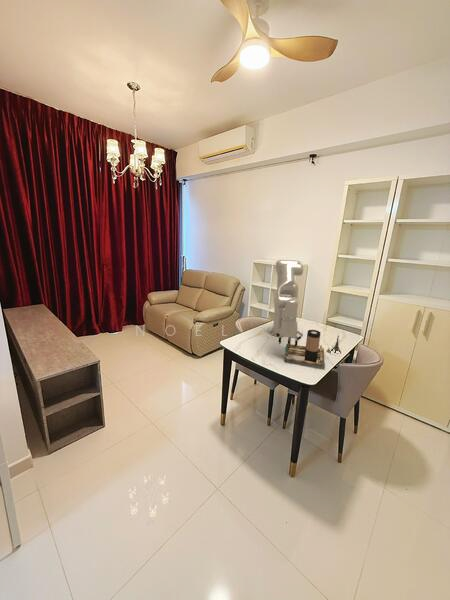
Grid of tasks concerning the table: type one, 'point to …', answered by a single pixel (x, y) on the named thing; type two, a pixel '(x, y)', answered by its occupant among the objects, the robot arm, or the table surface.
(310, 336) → the travel mug
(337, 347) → the eiffel tower figurine
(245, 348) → the table surface
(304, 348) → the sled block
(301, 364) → the lane frame
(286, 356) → the brown low piece
